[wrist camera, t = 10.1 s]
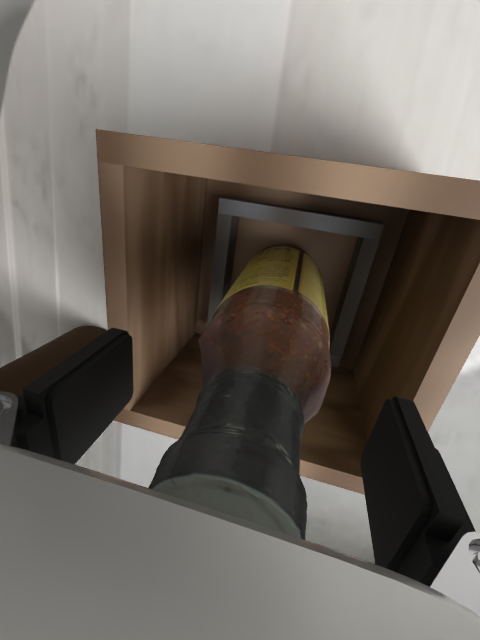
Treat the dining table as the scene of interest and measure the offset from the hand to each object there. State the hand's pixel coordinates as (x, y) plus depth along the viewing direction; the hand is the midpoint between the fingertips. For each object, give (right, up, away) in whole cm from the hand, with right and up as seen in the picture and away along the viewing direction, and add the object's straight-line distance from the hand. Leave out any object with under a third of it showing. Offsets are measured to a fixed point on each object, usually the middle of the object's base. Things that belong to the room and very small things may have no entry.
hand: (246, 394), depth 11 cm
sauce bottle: (+4, +6, +14) cm, 16 cm away
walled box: (+4, +6, +14) cm, 16 cm away
